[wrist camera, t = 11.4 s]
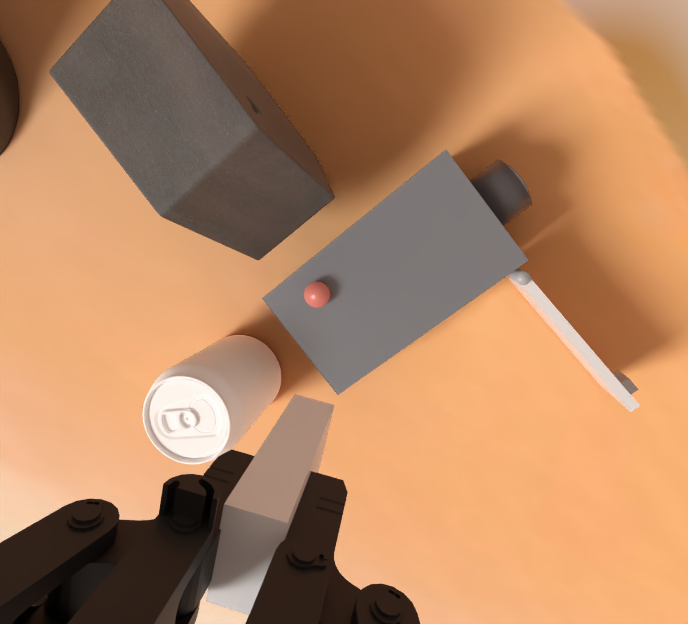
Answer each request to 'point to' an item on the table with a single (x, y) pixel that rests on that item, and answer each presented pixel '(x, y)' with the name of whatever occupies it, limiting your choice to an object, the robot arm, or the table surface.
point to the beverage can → (211, 399)
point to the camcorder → (402, 268)
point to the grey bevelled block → (192, 124)
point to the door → (575, 341)
